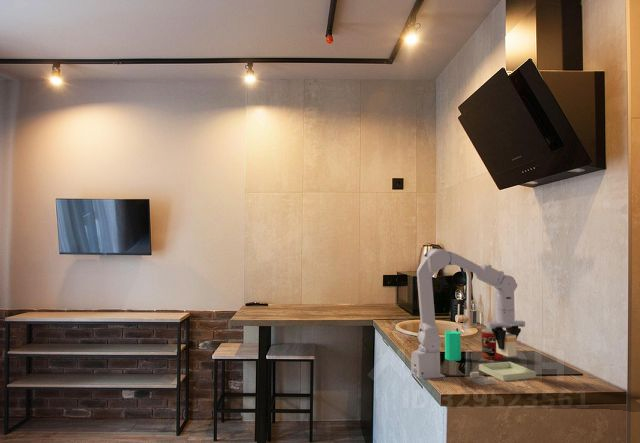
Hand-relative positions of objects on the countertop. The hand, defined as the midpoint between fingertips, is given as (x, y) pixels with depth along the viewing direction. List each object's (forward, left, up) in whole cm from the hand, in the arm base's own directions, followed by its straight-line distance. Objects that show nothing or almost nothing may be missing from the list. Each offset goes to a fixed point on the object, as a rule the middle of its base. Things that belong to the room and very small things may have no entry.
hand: (506, 348), depth 155 cm
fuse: (0, 0, -2) cm, 2 cm away
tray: (0, 0, -9) cm, 9 cm away
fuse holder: (-13, -4, -9) cm, 16 cm away
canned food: (+10, +21, -9) cm, 25 cm away
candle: (-6, +24, -9) cm, 26 cm away
